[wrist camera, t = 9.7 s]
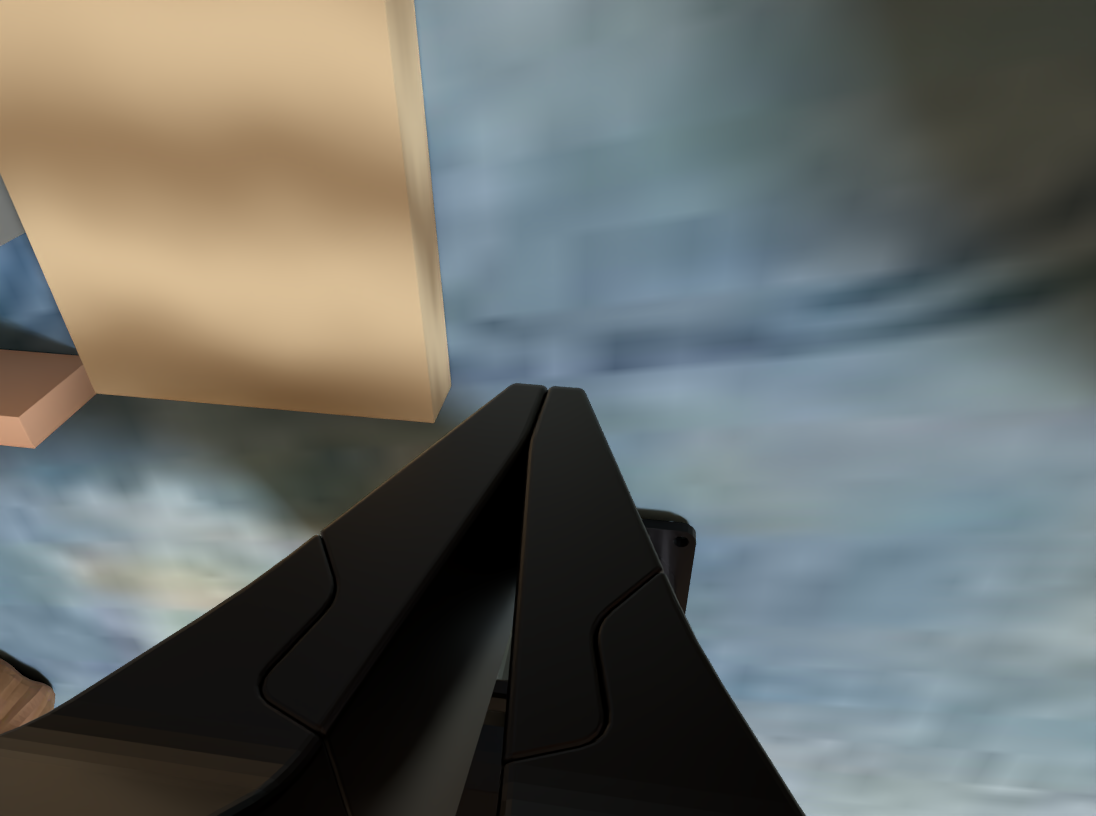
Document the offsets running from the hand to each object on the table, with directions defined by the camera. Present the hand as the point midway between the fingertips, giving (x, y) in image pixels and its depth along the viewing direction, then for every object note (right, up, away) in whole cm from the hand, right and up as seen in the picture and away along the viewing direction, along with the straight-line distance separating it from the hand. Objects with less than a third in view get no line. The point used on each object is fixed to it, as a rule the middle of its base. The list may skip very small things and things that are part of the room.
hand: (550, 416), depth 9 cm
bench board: (-9, +7, +11) cm, 16 cm away
